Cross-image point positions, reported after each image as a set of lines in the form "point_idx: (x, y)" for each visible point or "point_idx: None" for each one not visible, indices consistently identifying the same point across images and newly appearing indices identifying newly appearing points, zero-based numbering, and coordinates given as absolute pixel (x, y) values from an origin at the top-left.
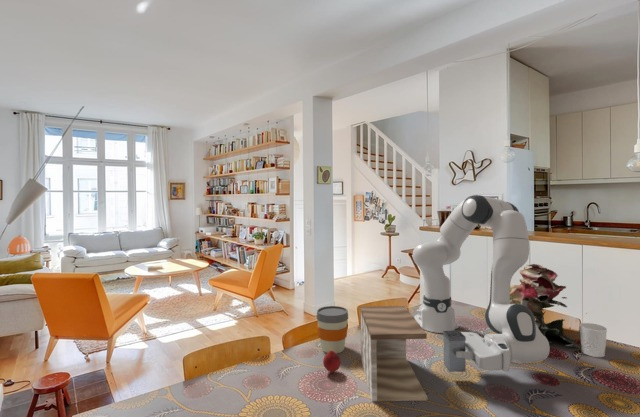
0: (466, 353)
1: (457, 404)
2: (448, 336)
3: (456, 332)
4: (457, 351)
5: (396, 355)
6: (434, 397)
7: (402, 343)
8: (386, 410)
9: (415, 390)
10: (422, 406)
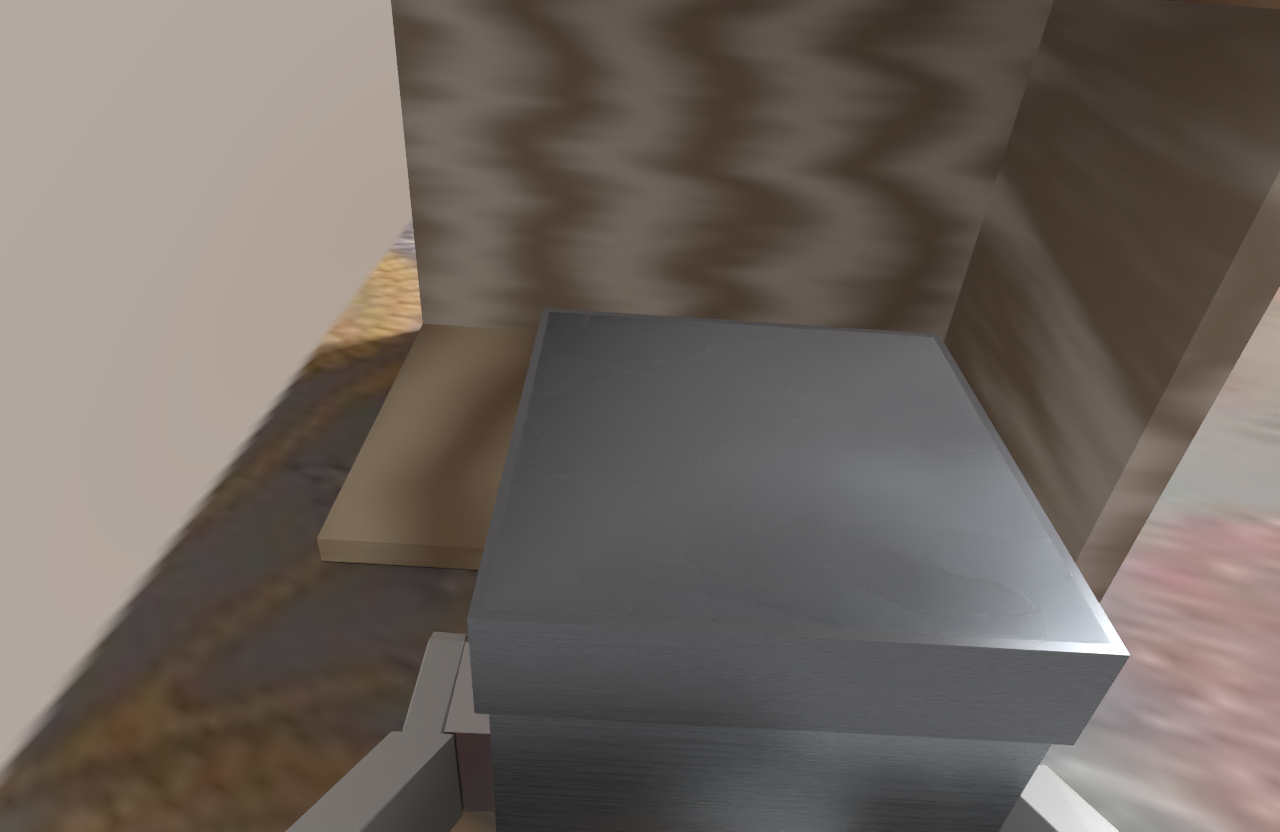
0: (321, 821)
1: (128, 784)
2: (588, 311)
3: (897, 521)
4: (451, 645)
5: (1035, 490)
6: (342, 625)
7: (1112, 429)
8: (319, 357)
9: (441, 495)
10: (263, 511)
